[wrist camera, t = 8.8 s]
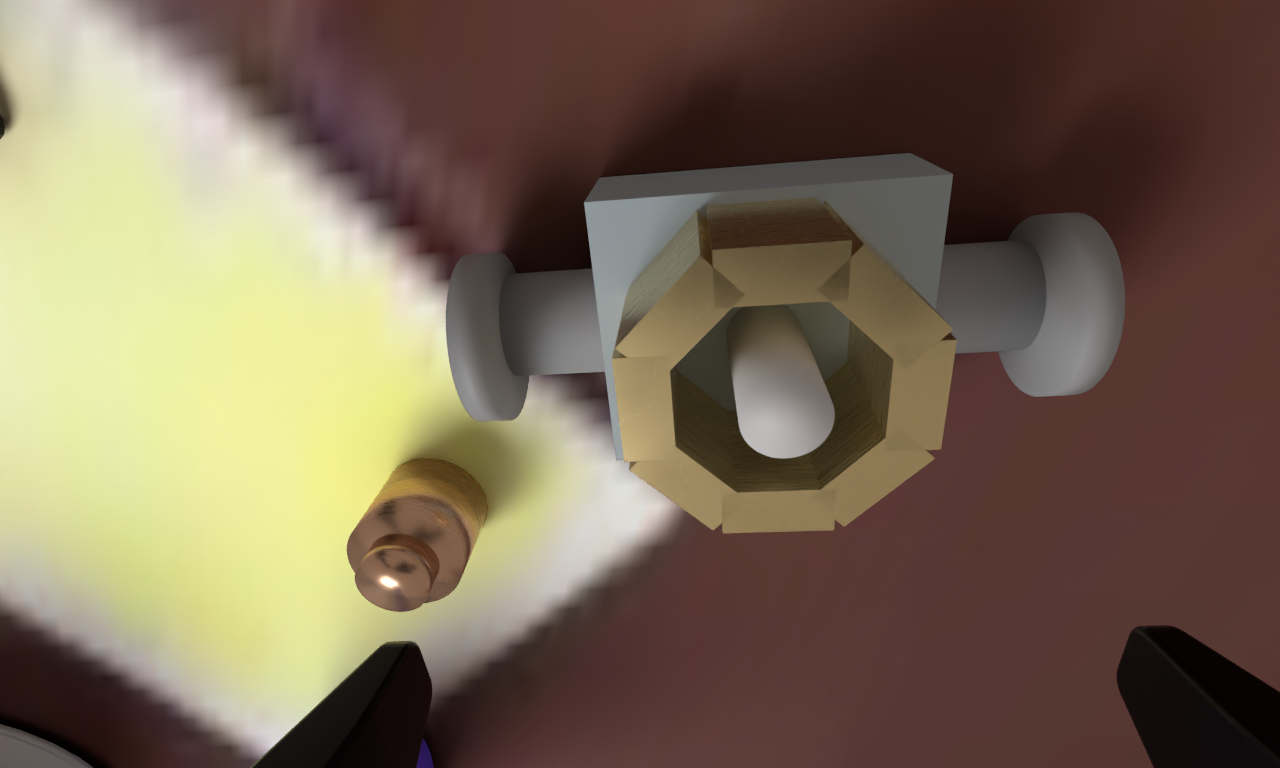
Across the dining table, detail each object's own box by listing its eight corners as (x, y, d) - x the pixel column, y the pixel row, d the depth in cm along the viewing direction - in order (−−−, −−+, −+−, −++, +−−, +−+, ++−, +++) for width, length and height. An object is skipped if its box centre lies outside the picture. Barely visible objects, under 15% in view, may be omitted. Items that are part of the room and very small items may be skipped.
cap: (373, 460, 22) (315, 539, 19) (476, 456, 22) (436, 535, 18) (400, 541, 24) (351, 628, 20) (496, 539, 24) (463, 627, 20)
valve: (519, 410, 21) (450, 567, 15) (475, 187, 18) (362, 266, 11) (1003, 388, 19) (1151, 550, 13) (1050, 141, 16) (1275, 203, 10)
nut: (617, 211, 15) (599, 257, 12) (909, 189, 14) (972, 231, 11) (641, 449, 18) (632, 535, 15) (885, 438, 17) (929, 527, 14)
